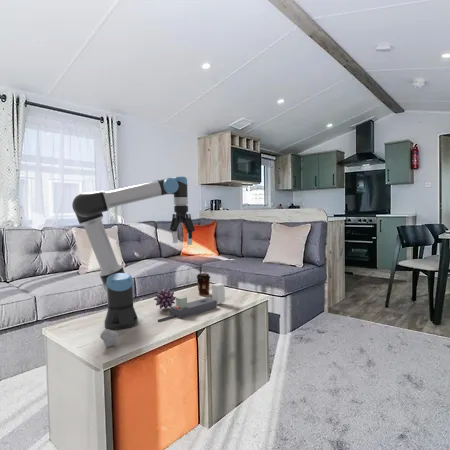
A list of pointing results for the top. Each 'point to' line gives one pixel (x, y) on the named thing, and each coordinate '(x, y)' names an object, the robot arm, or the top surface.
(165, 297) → the flower
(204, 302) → the power strip
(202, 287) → the coffee cup
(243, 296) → the top surface
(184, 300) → the block
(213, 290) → the white rectangular block
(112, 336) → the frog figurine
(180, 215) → the robot arm
